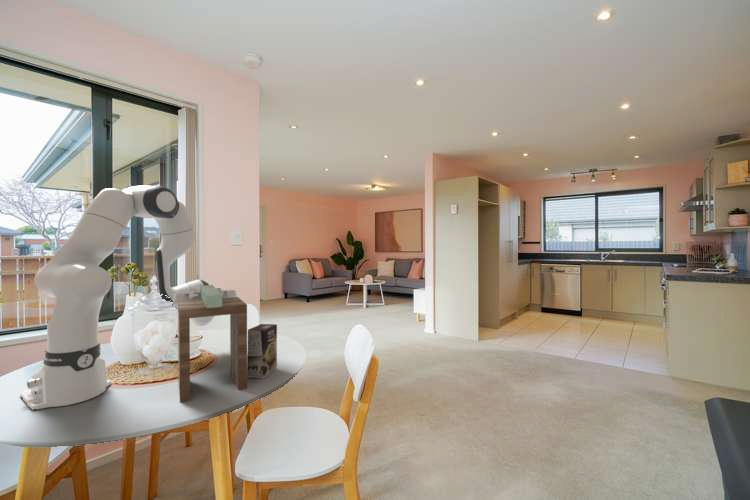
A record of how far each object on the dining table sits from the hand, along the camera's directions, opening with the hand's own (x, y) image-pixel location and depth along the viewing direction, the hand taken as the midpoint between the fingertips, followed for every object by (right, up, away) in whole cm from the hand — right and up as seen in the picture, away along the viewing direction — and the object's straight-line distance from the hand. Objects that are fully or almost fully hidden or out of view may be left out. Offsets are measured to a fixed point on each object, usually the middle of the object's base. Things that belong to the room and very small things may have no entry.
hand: (207, 290), depth 117 cm
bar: (+4, -2, -7) cm, 8 cm away
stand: (+6, -29, -10) cm, 31 cm away
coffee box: (+19, -29, 0) cm, 34 cm away
